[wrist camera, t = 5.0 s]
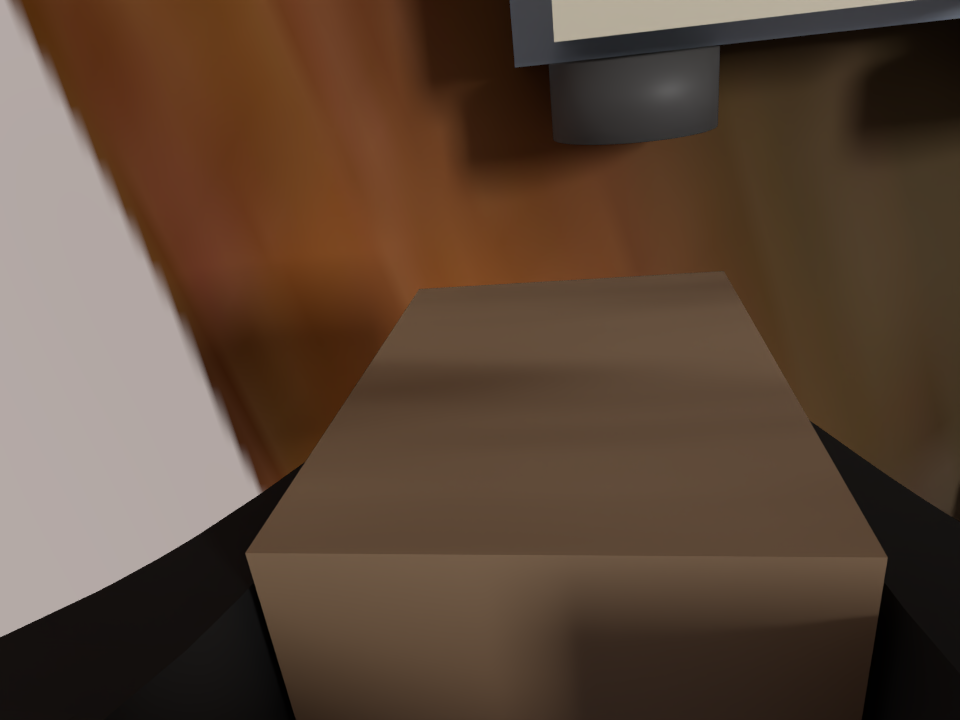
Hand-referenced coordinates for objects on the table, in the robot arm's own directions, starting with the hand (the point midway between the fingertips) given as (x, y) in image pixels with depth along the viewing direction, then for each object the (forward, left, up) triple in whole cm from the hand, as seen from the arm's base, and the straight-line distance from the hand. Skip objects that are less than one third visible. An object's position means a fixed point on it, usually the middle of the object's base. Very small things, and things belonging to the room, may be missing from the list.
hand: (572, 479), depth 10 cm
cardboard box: (0, 0, -2) cm, 2 cm away
